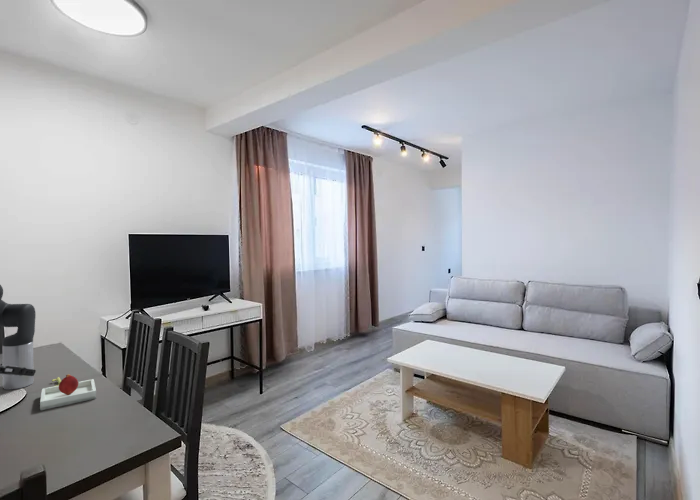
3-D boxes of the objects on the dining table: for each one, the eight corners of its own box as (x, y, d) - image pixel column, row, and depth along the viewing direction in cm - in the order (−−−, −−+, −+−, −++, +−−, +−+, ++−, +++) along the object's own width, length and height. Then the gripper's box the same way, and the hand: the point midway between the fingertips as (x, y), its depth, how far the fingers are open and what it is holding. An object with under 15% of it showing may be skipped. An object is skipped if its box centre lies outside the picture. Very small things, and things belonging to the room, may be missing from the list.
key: (58, 381, 152) (58, 376, 152) (76, 387, 147) (76, 381, 147) (38, 388, 145) (38, 382, 145) (56, 393, 140) (56, 388, 140)
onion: (66, 391, 139) (66, 371, 138) (81, 391, 139) (81, 371, 139) (55, 398, 133) (54, 377, 133) (71, 398, 133) (71, 376, 133)
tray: (42, 396, 136) (42, 388, 136) (93, 386, 146) (93, 379, 146) (40, 410, 125) (40, 402, 125) (96, 398, 135) (96, 390, 135)
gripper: (-9, 355, 117) (43, 362, 130) (-35, 355, 121) (18, 361, 135) (-20, 380, 114) (35, 384, 127) (-47, 378, 118) (9, 382, 132)
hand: (26, 372), depth 131 cm, fingers open, 8 cm apart
